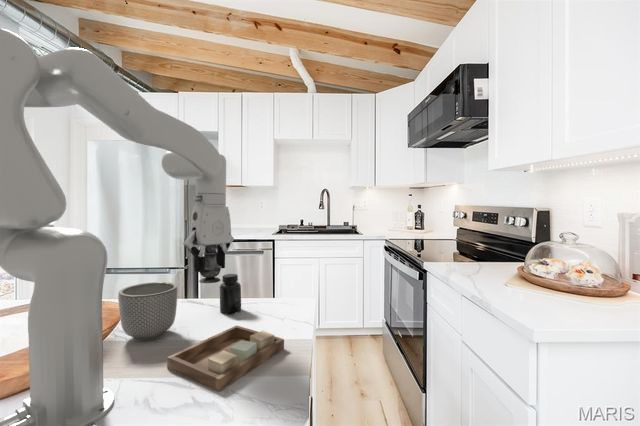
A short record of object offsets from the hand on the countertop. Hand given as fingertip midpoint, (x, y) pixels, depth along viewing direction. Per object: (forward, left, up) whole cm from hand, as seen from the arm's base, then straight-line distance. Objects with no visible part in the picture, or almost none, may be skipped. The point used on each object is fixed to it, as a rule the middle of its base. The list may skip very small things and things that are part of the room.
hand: (210, 269), depth 82 cm
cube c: (0, -17, -18) cm, 25 cm away
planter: (-8, +15, -19) cm, 25 cm away
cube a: (-12, -17, -18) cm, 28 cm away
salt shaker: (0, 0, -3) cm, 3 cm away
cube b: (-6, -17, -18) cm, 26 cm away
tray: (-6, -13, -19) cm, 23 cm away
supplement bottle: (+17, +11, -19) cm, 28 cm away
